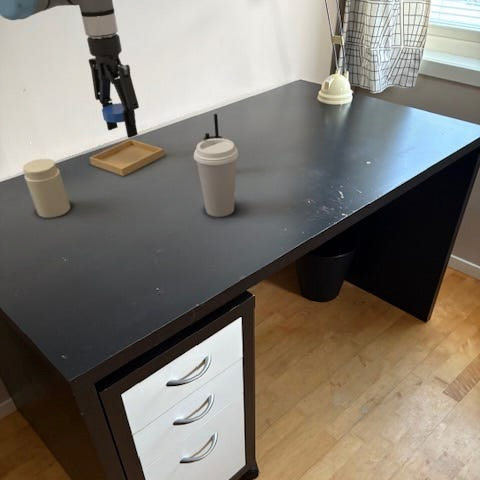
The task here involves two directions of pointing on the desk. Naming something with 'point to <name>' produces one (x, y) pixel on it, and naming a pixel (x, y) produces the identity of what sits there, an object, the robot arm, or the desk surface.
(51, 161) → the jar
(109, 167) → the tray
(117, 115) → the lid
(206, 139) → the walkie-talkie
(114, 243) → the desk surface
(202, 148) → the coffee cup
